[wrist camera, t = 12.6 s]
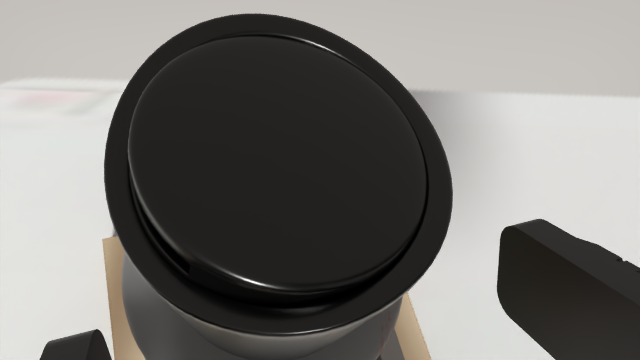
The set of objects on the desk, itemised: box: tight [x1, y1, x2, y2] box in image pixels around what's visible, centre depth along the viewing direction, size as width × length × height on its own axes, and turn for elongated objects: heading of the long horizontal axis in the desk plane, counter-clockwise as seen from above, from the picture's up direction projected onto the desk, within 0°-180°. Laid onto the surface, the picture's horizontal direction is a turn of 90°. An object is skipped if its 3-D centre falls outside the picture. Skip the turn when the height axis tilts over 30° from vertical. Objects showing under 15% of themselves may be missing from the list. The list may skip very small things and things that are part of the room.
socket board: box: [102, 236, 431, 360], centre depth 22 cm, size 15×13×5 cm
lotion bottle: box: [104, 14, 453, 360], centre depth 13 cm, size 6×6×20 cm
